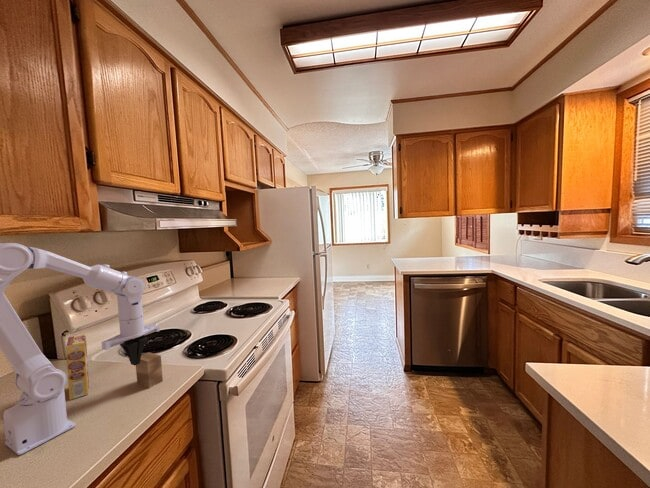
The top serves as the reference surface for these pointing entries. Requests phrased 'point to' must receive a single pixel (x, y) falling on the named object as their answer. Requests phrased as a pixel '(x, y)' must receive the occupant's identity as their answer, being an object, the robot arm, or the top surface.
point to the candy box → (77, 366)
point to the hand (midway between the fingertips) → (135, 363)
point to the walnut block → (149, 370)
